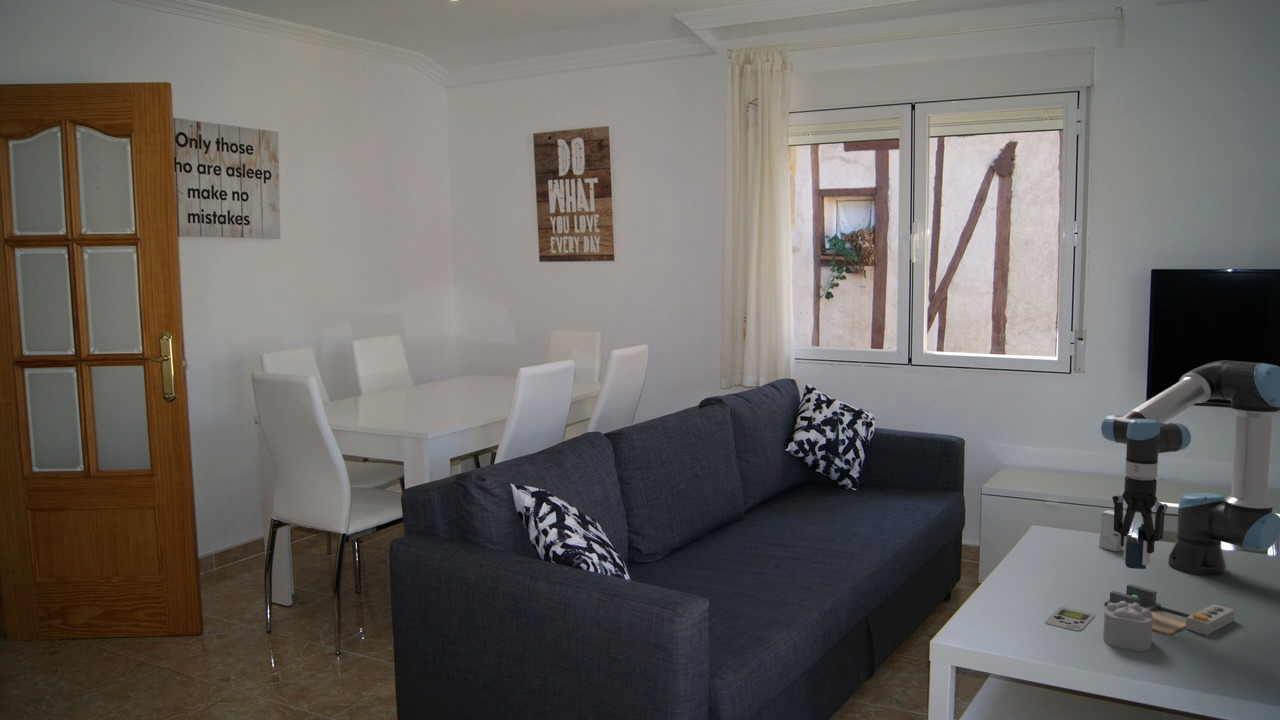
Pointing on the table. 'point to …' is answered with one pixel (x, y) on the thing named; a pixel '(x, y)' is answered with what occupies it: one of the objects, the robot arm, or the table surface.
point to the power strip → (1210, 619)
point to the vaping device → (1135, 550)
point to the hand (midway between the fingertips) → (1136, 561)
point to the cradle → (1140, 598)
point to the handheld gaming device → (1070, 619)
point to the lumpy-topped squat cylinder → (1128, 626)
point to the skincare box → (1109, 532)
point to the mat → (1166, 624)
